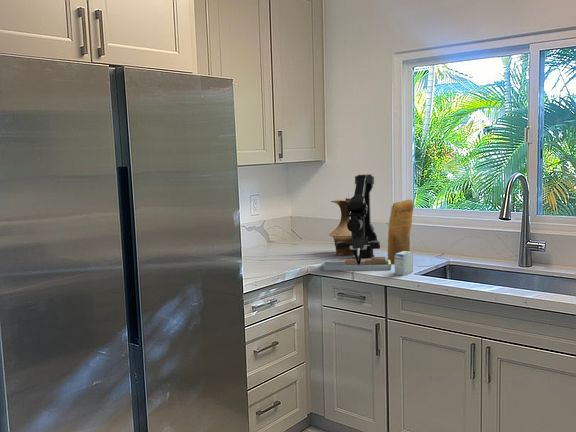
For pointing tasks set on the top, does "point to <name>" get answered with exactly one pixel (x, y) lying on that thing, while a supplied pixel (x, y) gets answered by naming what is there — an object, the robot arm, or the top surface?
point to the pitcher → (342, 229)
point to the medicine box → (403, 263)
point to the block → (378, 261)
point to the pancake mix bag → (399, 228)
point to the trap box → (341, 265)
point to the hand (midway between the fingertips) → (358, 264)
